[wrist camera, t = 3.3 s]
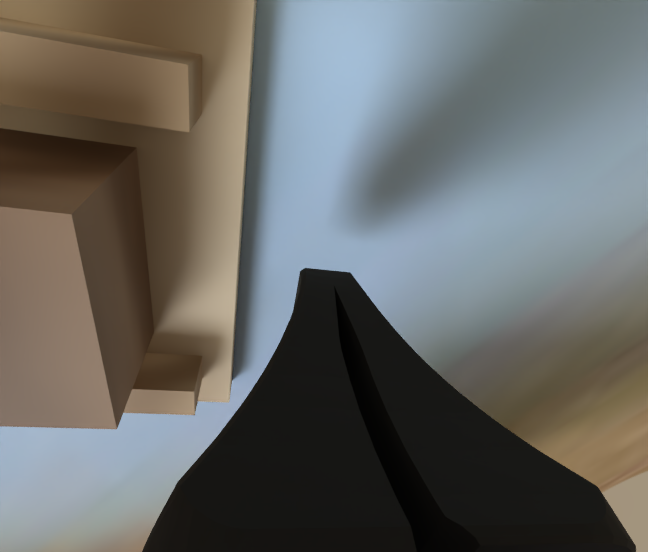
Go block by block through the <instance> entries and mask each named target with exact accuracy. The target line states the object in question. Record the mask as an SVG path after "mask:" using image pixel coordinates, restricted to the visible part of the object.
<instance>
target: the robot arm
mask: <svg viewBox="0 0 648 552" xmlns="http://www.w3.org/2000/svg"><path fill="white" fill-rule="evenodd" d="M142 552H636V546H635V544H634V543H633V541H632V539H631V538H630V536H629V535H628V533H627V532H626V530H625V528H624V527H623V525H622V524H621V522H620V521H619V519H618V518H617V516H616V515H615V513H614V511H613V510H612V508H611V507H610V505H609V504H608V502H607V500H606V499H605V497H604V496H603V494H602V493H601V491H600V490H599V488H598V487H597V486H596V485H594V484H592V483H591V482H589V481H588V480H586V479H584V478H583V477H581V476H579V475H578V474H576V473H574V472H573V471H571V470H570V469H568V468H566V467H565V466H563V465H561V464H560V463H558V462H556V461H555V460H553V459H552V458H550V457H548V456H547V455H545V454H543V453H542V452H540V451H539V450H537V449H535V448H534V447H532V446H531V445H530V444H528V443H527V442H525V441H524V440H522V439H521V438H519V437H518V436H516V435H515V434H514V433H512V432H511V431H509V430H508V429H506V428H505V427H503V426H502V425H501V424H499V423H498V422H497V421H495V420H494V419H492V418H491V417H490V416H488V415H487V414H486V413H484V412H483V411H482V410H481V409H479V408H478V407H477V406H476V405H474V404H473V403H472V402H471V401H469V400H468V399H467V398H466V397H464V396H463V395H462V394H460V393H459V392H458V391H457V390H456V389H455V388H453V387H452V386H451V385H450V384H449V383H448V382H446V381H445V380H444V379H443V378H442V377H441V376H440V375H439V374H438V373H437V372H436V371H434V370H433V369H432V368H431V367H430V366H429V365H428V364H427V363H426V362H425V361H424V360H423V359H422V358H421V357H420V356H419V355H418V354H417V353H416V352H415V351H414V350H413V349H412V348H411V347H410V346H409V345H408V344H407V343H406V341H405V340H404V339H403V338H402V337H401V336H400V335H399V334H398V333H397V332H396V330H395V329H394V328H393V327H392V326H391V325H390V323H389V322H388V321H387V320H386V319H385V317H384V316H383V315H382V314H381V312H380V311H379V310H378V309H377V307H376V306H375V305H374V303H373V302H372V301H371V300H370V298H369V297H368V296H367V294H366V293H365V292H364V290H363V289H362V288H361V286H360V285H359V284H358V282H357V281H356V280H355V278H354V277H353V276H352V274H351V273H349V272H339V271H329V270H319V269H309V268H305V269H303V270H302V271H300V276H299V282H298V287H297V293H296V299H295V304H294V310H293V313H292V316H291V319H290V321H289V323H288V325H287V328H286V330H285V332H284V334H283V337H282V339H281V341H280V343H279V345H278V347H277V349H276V351H275V352H274V354H273V356H272V358H271V360H270V361H269V363H268V365H267V367H266V368H265V370H264V372H263V373H262V375H261V376H260V378H259V380H258V381H257V383H256V384H255V386H254V387H253V389H252V390H251V392H250V393H249V395H248V396H247V398H246V399H245V401H244V402H243V403H242V405H241V406H240V407H239V409H238V410H237V411H236V413H235V414H234V415H233V417H232V418H231V419H230V421H229V422H228V423H227V425H226V426H225V427H224V428H223V430H222V431H221V432H220V434H219V435H218V436H217V437H216V439H215V440H214V441H213V442H212V444H211V445H210V446H209V447H208V448H207V449H206V450H205V452H204V453H203V454H202V455H201V456H200V457H199V458H198V460H197V461H196V462H195V463H194V464H193V465H192V466H191V467H190V469H189V470H188V471H187V472H186V473H185V474H184V475H183V477H182V478H181V479H180V480H179V481H178V483H177V484H176V487H175V488H174V490H173V492H172V494H171V495H170V497H169V499H168V501H167V503H166V505H165V506H164V508H163V510H162V512H161V514H160V516H159V518H158V519H157V521H156V523H155V525H154V527H153V529H152V531H151V533H150V535H149V537H148V540H147V542H146V544H145V546H144V549H143V551H142Z"/></svg>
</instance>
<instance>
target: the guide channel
mask: <svg viewBox="0 0 648 552" xmlns="http://www.w3.org/2000/svg"><path fill="white" fill-rule="evenodd" d="M256 4H257V0H0V128H4V129H11V130H18V131H25V132H32V133H39V134H46V135H53V136H60V137H67V138H74V139H81V140H88V141H95V142H102V143H109V144H116V145H123V146H130V147H137V156H138V167H139V177H140V188H141V198H142V209H143V219H144V230H145V240H146V250H147V261H148V271H149V282H150V292H151V303H152V313H153V324H154V334H153V336H152V339H151V342H150V344H149V347H148V349H147V352H146V355H145V357H144V360H143V362H142V365H141V368H140V370H139V373H138V375H137V378H136V381H135V383H134V386H133V388H132V391H131V394H130V396H129V399H128V401H127V404H126V407H125V409H124V412H123V413H149V414H180V415H195V411H196V406H197V401H205V402H229V399H230V392H231V384H232V372H233V357H234V341H235V326H236V311H237V295H238V280H239V265H240V249H241V234H242V219H243V203H244V188H245V173H246V157H247V142H248V126H249V111H250V96H251V80H252V65H253V50H254V34H255V19H256Z"/></svg>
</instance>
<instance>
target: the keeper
mask: <svg viewBox="0 0 648 552" xmlns="http://www.w3.org/2000/svg"><path fill="white" fill-rule="evenodd" d="M153 334H154V324H153V313H152V303H151V292H150V282H149V271H148V261H147V250H146V240H145V230H144V219H143V209H142V198H141V188H140V177H139V167H138V156H137V147H130V146H123V145H116V144H109V143H102V142H95V141H88V140H81V139H74V138H67V137H60V136H53V135H46V134H39V133H32V132H25V131H18V130H11V129H4V128H0V426H13V427H52V428H91V429H117V427H118V425H119V422H120V420H121V417H122V414H123V412H124V409H125V407H126V404H127V401H128V399H129V396H130V394H131V391H132V388H133V386H134V383H135V381H136V378H137V375H138V373H139V370H140V368H141V365H142V362H143V360H144V357H145V355H146V352H147V349H148V347H149V344H150V342H151V339H152V336H153Z"/></svg>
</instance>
